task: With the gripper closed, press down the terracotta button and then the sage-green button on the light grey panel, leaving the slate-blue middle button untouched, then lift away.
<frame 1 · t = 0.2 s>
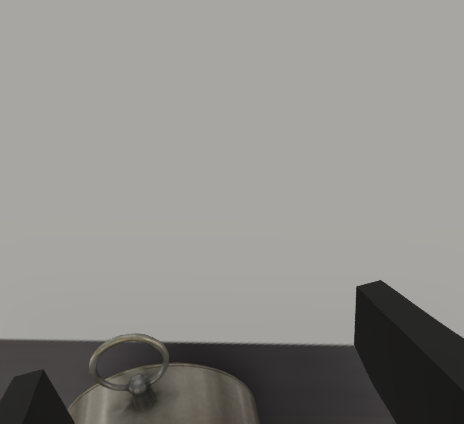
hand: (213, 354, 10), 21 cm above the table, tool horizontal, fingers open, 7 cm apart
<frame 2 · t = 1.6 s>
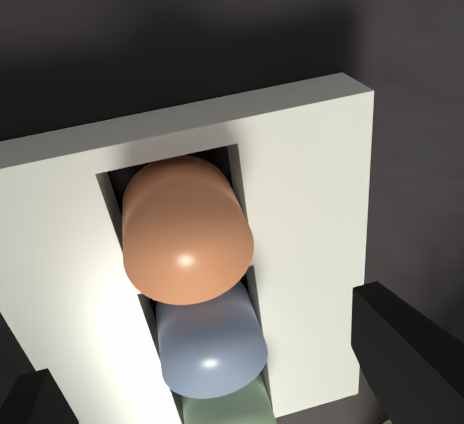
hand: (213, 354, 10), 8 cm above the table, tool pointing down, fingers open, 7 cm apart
panel: (197, 282, 20), on the table
terracotta button: (184, 228, 14), point 3 cm above the table, slide at 0.0 cm
slate button: (208, 333, 17), point 3 cm above the table, slide at 0.0 cm
sage button: (226, 408, 20), point 3 cm above the table, slide at 0.0 cm
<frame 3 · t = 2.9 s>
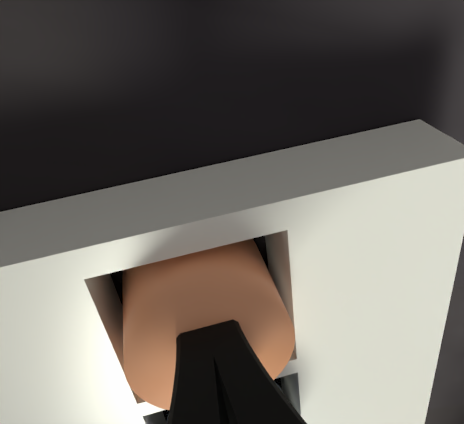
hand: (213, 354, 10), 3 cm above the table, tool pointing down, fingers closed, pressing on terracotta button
panel: (217, 374, 16), on the table
terracotta button: (202, 311, 11), point 2 cm above the table, slide at 1.2 cm, touching gripper
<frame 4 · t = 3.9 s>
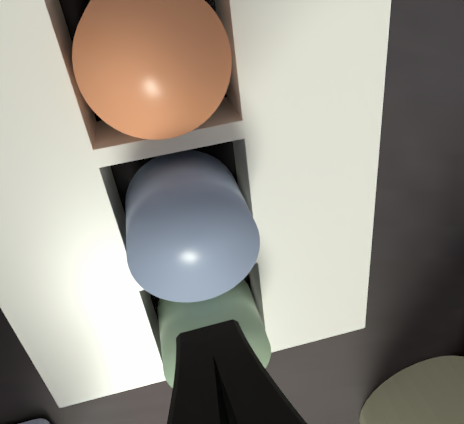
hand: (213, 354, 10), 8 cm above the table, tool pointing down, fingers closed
panel: (178, 180, 17), on the table
terracotta button: (151, 53, 12), point 2 cm above the table, slide at 1.2 cm
reusable coffee cup: (418, 397, 30), on the table
slate button: (188, 224, 14), point 3 cm above the table, slide at 0.0 cm
sage button: (211, 331, 17), point 3 cm above the table, slide at 0.0 cm
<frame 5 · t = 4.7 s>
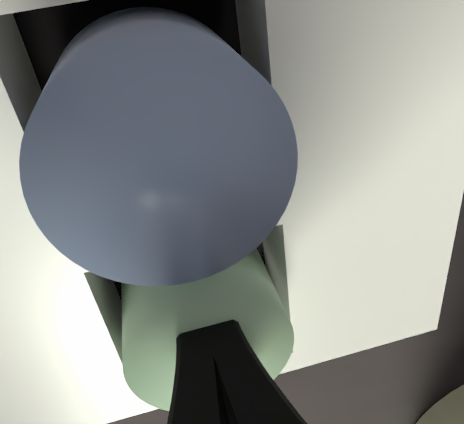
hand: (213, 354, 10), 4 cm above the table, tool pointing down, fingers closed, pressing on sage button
panel: (149, 92, 10), on the table
slate button: (160, 142, 8), point 3 cm above the table, slide at 0.0 cm
sage button: (201, 311, 11), point 2 cm above the table, slide at 0.9 cm, touching gripper
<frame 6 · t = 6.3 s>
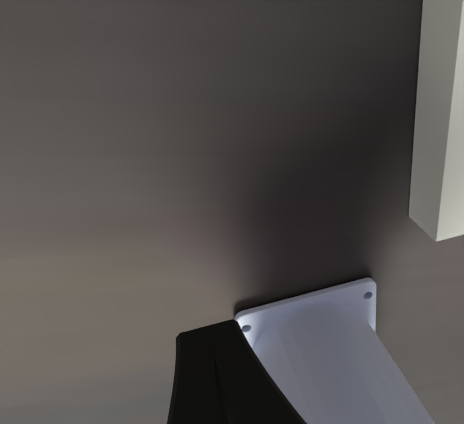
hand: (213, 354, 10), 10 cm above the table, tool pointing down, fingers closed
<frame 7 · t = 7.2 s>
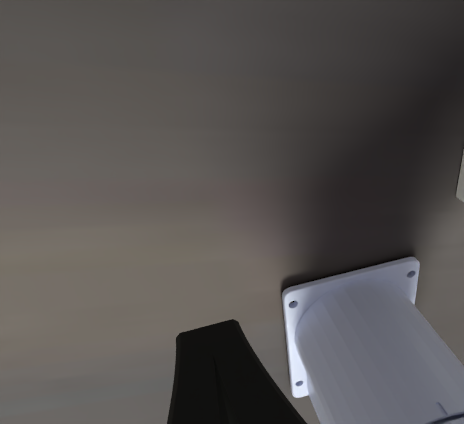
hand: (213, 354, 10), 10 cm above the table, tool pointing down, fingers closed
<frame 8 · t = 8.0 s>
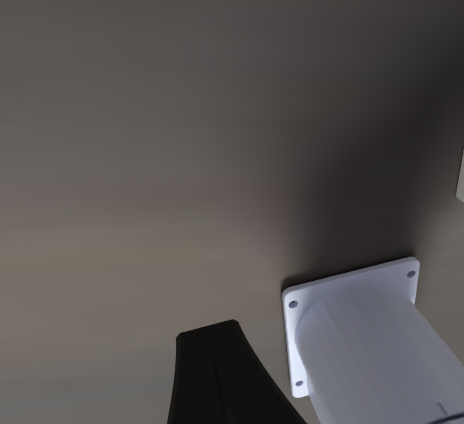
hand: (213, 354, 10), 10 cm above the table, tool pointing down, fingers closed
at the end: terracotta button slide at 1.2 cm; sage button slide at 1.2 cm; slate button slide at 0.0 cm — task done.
